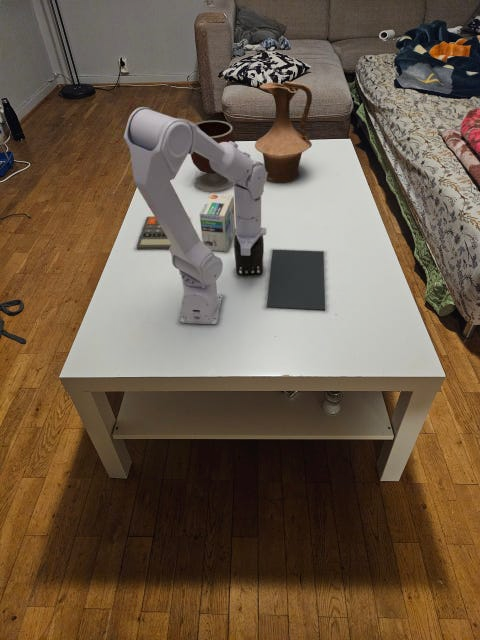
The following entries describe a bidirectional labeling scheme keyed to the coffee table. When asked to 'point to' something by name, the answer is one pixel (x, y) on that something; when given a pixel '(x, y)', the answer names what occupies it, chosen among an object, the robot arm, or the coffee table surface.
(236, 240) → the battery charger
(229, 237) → the light bulb box
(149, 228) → the calculator
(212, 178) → the mate gourd
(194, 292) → the robot arm
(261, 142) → the pitcher
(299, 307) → the mat
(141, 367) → the coffee table surface
